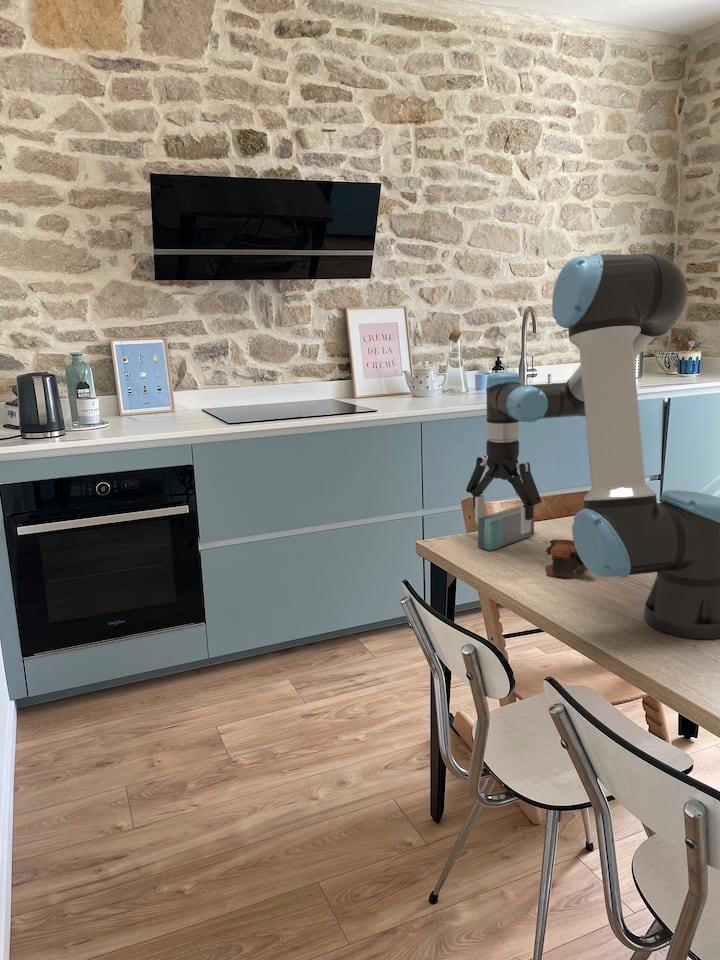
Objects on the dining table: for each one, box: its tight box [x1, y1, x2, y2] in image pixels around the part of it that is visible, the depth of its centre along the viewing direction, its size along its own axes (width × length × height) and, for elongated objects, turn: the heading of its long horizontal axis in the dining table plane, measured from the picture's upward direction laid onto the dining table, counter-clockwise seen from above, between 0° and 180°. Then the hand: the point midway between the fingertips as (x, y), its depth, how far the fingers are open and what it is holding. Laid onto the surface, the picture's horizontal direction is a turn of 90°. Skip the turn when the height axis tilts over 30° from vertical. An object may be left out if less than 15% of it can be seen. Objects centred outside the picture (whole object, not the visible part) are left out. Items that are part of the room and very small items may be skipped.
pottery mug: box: [545, 538, 588, 580], centre depth 157 cm, size 12×10×8 cm
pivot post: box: [532, 506, 535, 536], centre depth 185 cm, size 2×2×8 cm
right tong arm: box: [483, 509, 533, 551], centre depth 178 cm, size 16×2×7 cm, turn 131°
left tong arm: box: [477, 505, 522, 550], centre depth 180 cm, size 16×2×7 cm, turn 132°
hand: (502, 527), depth 178 cm, fingers open, 13 cm apart
